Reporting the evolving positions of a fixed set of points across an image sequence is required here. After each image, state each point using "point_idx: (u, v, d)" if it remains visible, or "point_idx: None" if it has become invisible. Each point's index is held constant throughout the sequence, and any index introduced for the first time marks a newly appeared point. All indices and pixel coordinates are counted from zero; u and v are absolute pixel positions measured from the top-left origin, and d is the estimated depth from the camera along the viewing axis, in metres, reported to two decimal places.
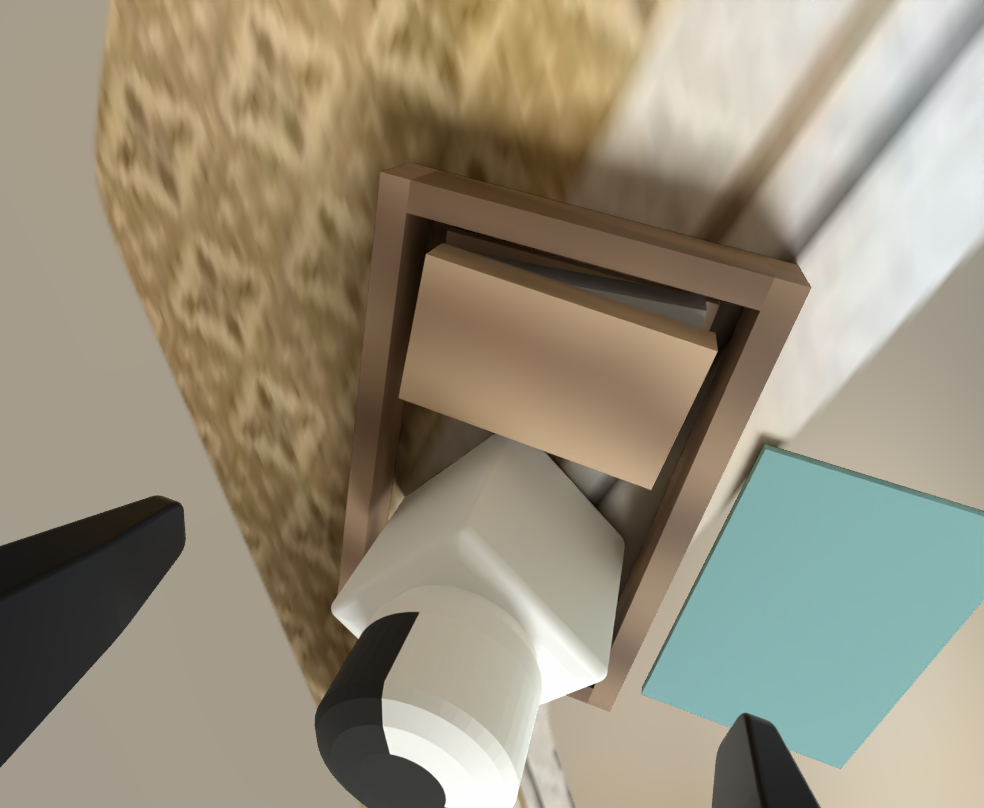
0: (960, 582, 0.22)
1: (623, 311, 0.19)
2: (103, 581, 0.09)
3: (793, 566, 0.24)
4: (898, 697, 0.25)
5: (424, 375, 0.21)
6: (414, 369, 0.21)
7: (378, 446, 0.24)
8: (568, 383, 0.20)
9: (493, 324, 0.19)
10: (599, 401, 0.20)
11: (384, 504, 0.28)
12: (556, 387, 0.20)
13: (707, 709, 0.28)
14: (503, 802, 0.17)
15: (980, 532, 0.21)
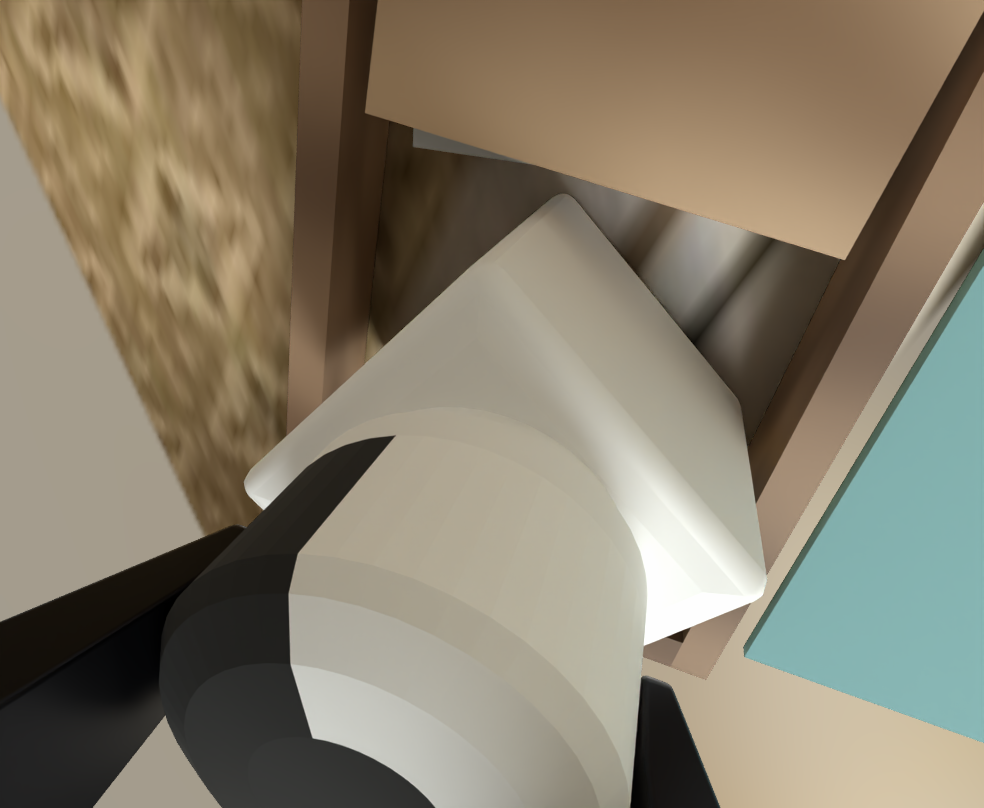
0: None
1: None
2: None
3: None
4: None
5: (411, 52, 0.11)
6: (392, 42, 0.11)
7: (337, 228, 0.14)
8: (698, 26, 0.10)
9: None
10: (760, 61, 0.10)
11: (354, 360, 0.18)
12: (673, 39, 0.10)
13: (849, 678, 0.18)
14: None
15: None
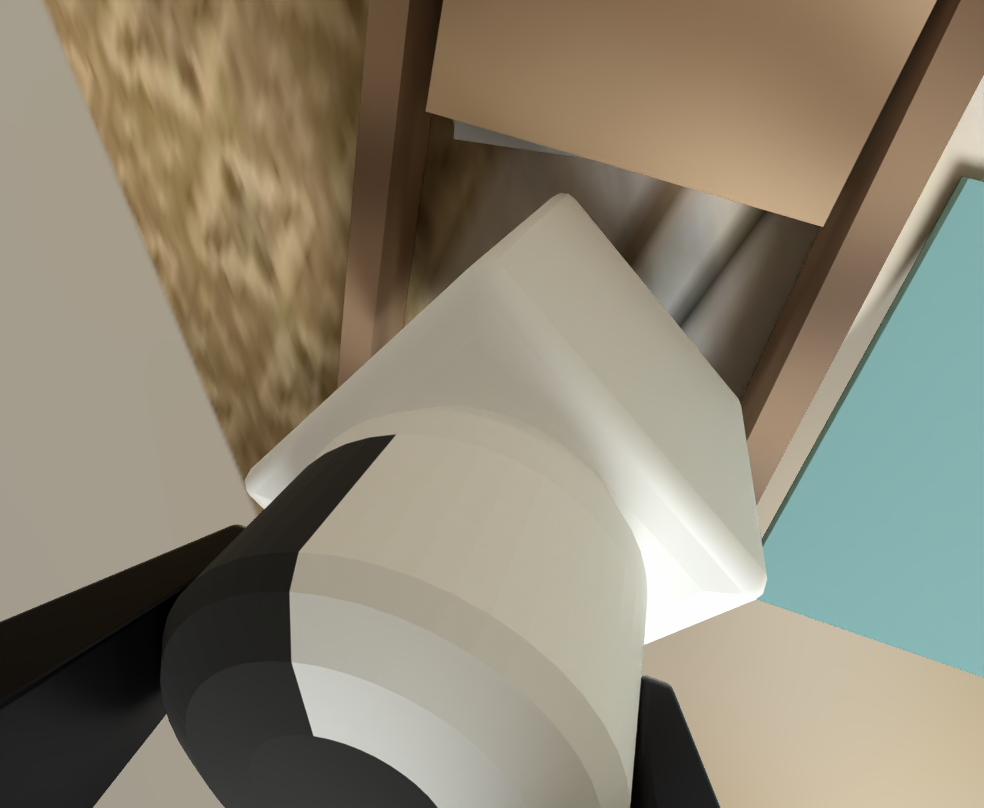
0: None
1: None
2: None
3: None
4: None
5: (466, 61, 0.14)
6: (450, 53, 0.14)
7: (388, 209, 0.17)
8: (700, 37, 0.12)
9: None
10: (750, 65, 0.12)
11: (394, 328, 0.20)
12: (680, 48, 0.12)
13: (829, 609, 0.21)
14: None
15: None
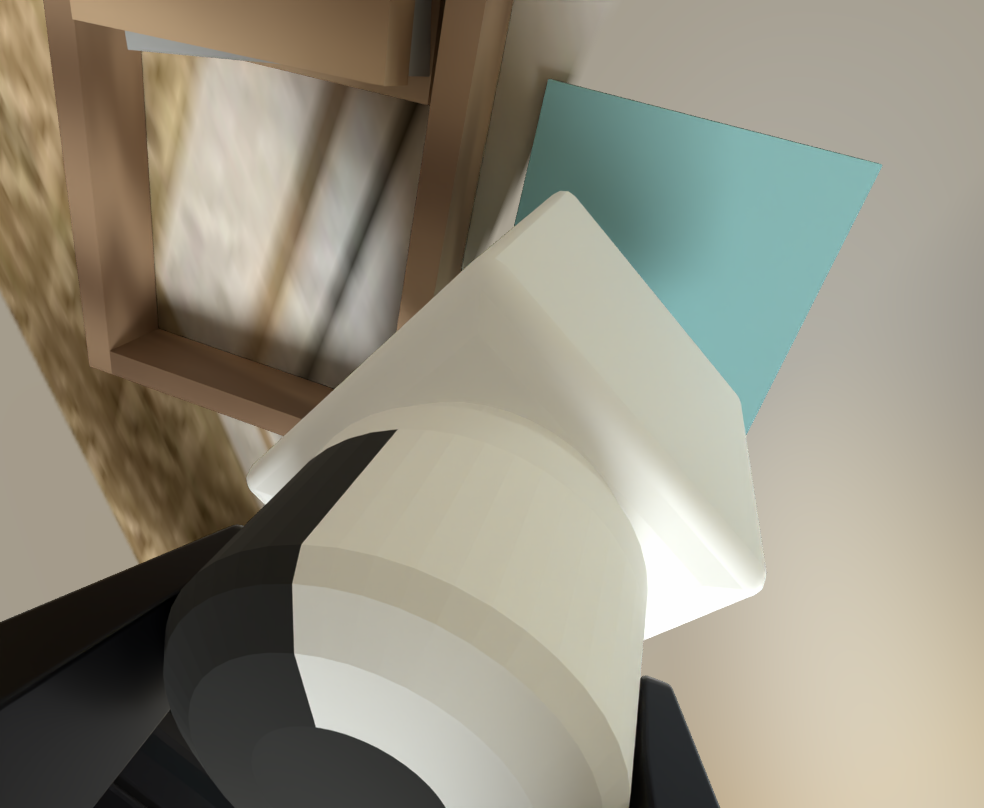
0: (794, 257, 0.18)
1: None
2: None
3: None
4: None
5: None
6: None
7: (88, 108, 0.19)
8: None
9: None
10: None
11: (137, 229, 0.23)
12: None
13: None
14: None
15: (811, 174, 0.17)
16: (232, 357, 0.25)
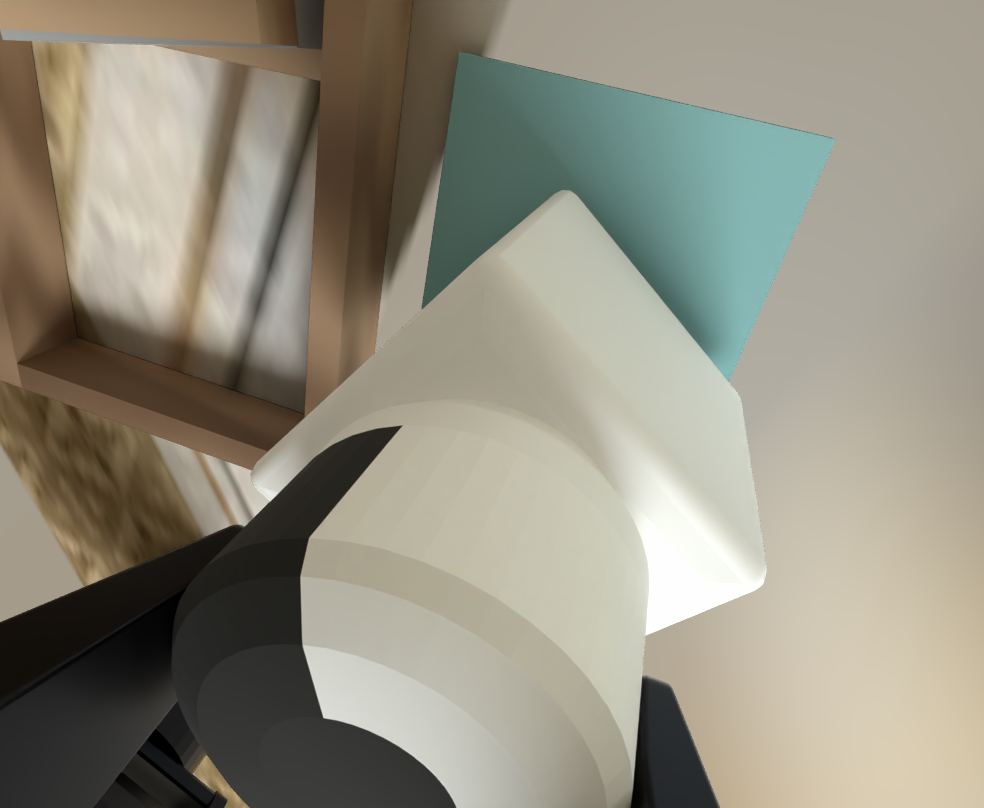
0: (742, 247, 0.16)
1: None
2: None
3: None
4: None
5: None
6: None
7: None
8: None
9: None
10: None
11: (41, 231, 0.21)
12: None
13: None
14: None
15: (756, 151, 0.15)
16: (154, 368, 0.23)
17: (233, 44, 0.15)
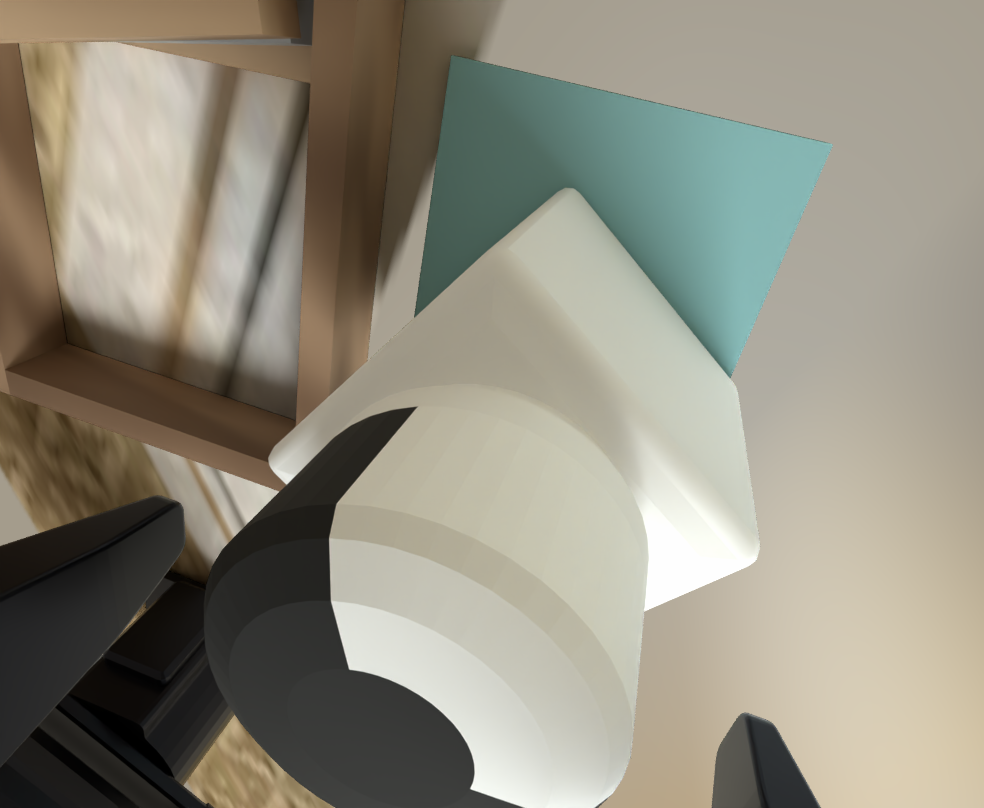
0: (738, 254, 0.15)
1: None
2: (103, 581, 0.09)
3: None
4: None
5: None
6: None
7: None
8: None
9: None
10: None
11: (29, 236, 0.21)
12: None
13: None
14: (601, 779, 0.07)
15: (752, 157, 0.14)
16: (144, 374, 0.23)
17: (225, 40, 0.15)
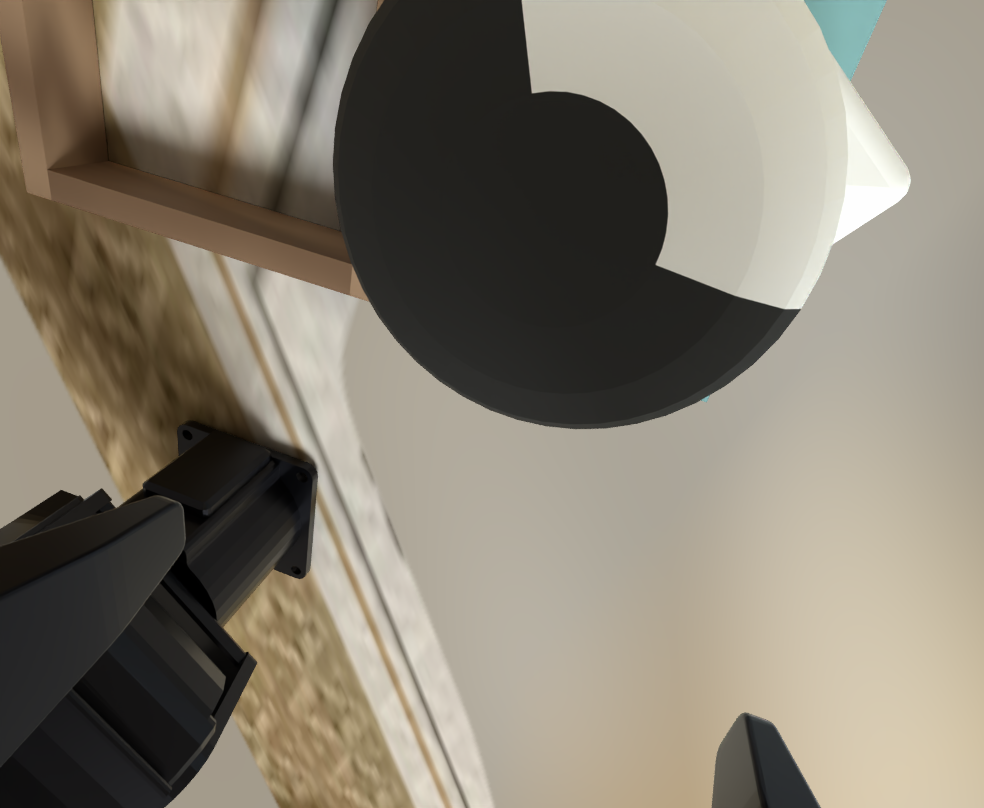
0: None
1: None
2: (103, 581, 0.09)
3: None
4: None
5: None
6: None
7: None
8: None
9: None
10: None
11: (75, 24, 0.20)
12: None
13: None
14: (808, 246, 0.07)
15: None
16: (190, 188, 0.22)
17: None
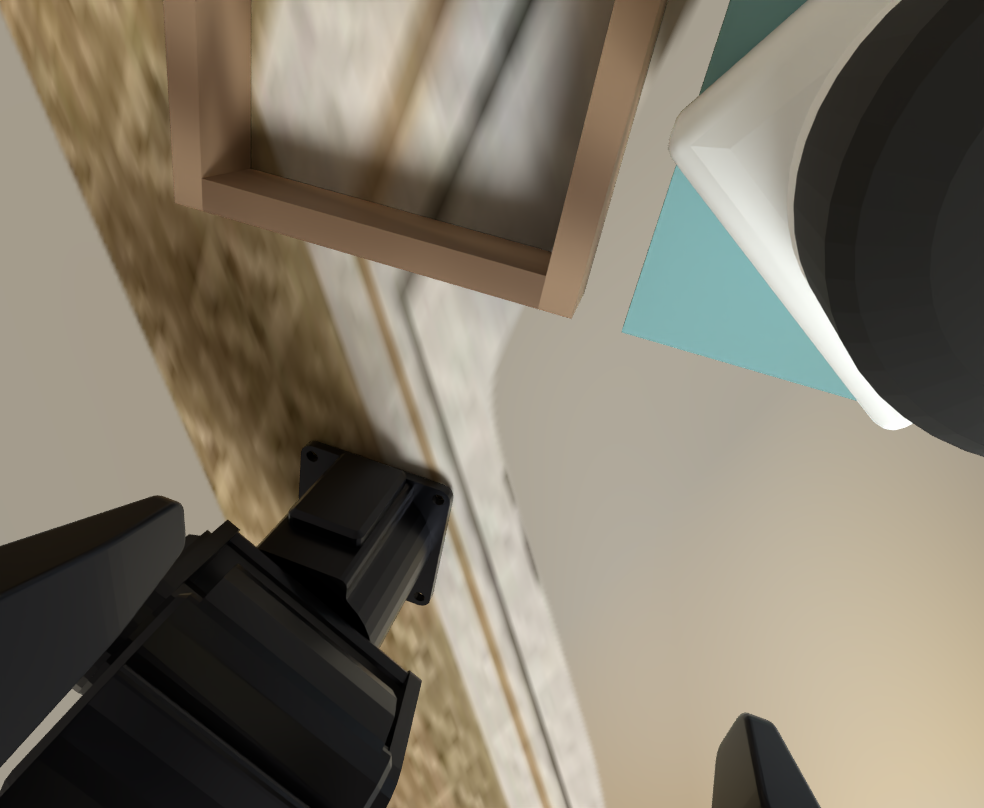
0: None
1: None
2: (102, 581, 0.09)
3: None
4: None
5: None
6: None
7: None
8: None
9: None
10: None
11: (236, 22, 0.19)
12: None
13: (718, 341, 0.19)
14: None
15: None
16: (343, 196, 0.21)
17: None
